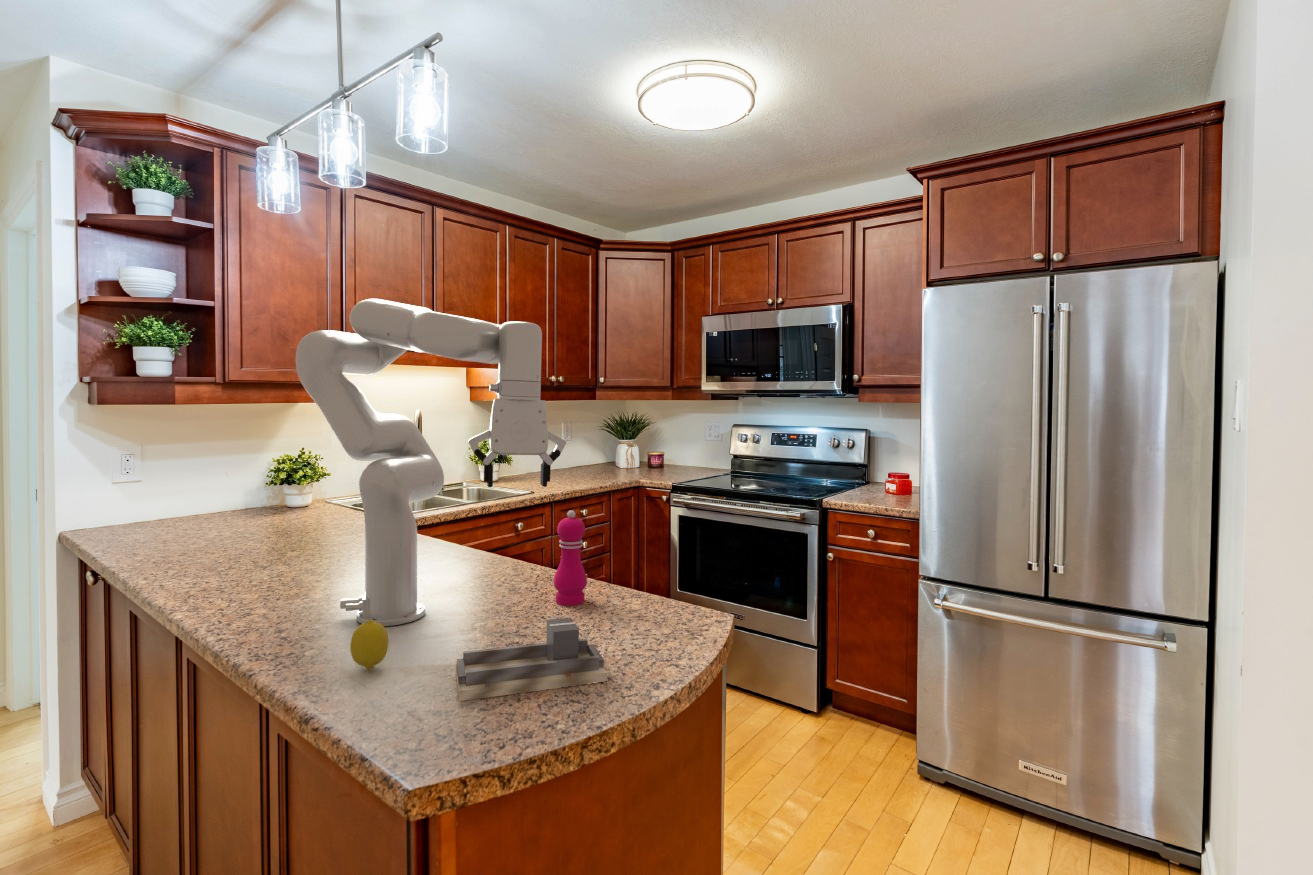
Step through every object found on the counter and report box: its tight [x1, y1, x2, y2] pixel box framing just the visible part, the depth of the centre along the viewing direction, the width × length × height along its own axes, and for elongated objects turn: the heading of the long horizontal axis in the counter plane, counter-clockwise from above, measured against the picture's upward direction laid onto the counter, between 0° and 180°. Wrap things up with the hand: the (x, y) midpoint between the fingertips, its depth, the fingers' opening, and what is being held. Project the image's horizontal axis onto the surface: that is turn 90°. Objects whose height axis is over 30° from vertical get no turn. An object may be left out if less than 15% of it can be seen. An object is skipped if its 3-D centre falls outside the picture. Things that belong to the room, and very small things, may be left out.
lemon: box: [349, 620, 389, 671], centre depth 102 cm, size 6×6×8 cm
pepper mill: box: [553, 509, 588, 607], centre depth 139 cm, size 7×7×20 cm
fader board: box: [455, 638, 608, 702], centre depth 101 cm, size 22×11×4 cm, turn 110°
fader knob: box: [545, 617, 580, 661], centre depth 103 cm, size 4×6×6 cm
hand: (517, 486), depth 116 cm, fingers open, 9 cm apart
